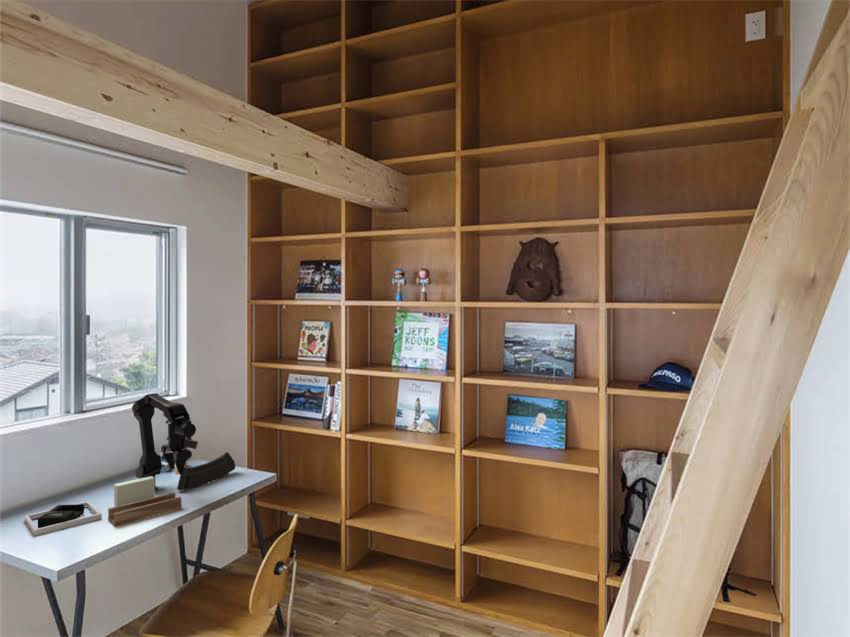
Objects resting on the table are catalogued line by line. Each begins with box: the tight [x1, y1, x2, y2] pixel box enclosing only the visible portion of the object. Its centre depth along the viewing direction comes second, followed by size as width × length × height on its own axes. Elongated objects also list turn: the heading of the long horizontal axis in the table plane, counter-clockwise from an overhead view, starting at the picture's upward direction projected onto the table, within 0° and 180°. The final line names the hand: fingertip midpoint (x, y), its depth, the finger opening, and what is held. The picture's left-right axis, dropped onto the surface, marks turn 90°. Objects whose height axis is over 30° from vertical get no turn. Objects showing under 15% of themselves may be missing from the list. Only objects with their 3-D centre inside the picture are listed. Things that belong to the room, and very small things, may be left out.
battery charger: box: [37, 503, 85, 529], centre depth 198 cm, size 13×10×4 cm
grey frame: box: [24, 500, 103, 537], centre depth 199 cm, size 18×21×2 cm
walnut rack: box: [107, 492, 183, 527], centre depth 205 cm, size 9×24×4 cm, turn 136°
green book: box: [113, 476, 156, 507], centre depth 214 cm, size 4×14×10 cm, turn 136°
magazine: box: [176, 451, 237, 492], centre depth 241 cm, size 17×3×30 cm
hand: (176, 471), depth 219 cm, fingers open, 9 cm apart
